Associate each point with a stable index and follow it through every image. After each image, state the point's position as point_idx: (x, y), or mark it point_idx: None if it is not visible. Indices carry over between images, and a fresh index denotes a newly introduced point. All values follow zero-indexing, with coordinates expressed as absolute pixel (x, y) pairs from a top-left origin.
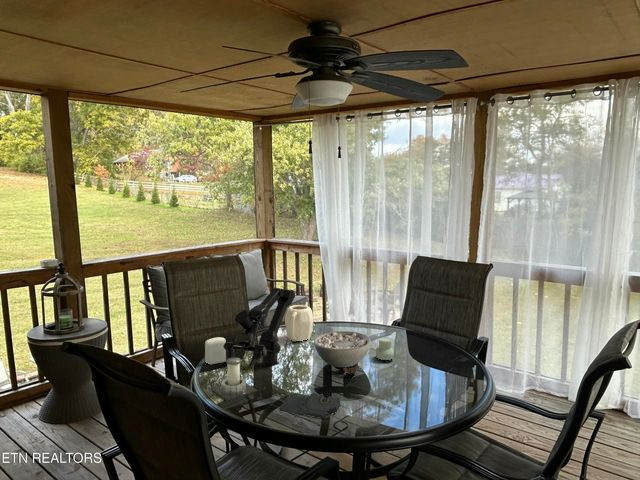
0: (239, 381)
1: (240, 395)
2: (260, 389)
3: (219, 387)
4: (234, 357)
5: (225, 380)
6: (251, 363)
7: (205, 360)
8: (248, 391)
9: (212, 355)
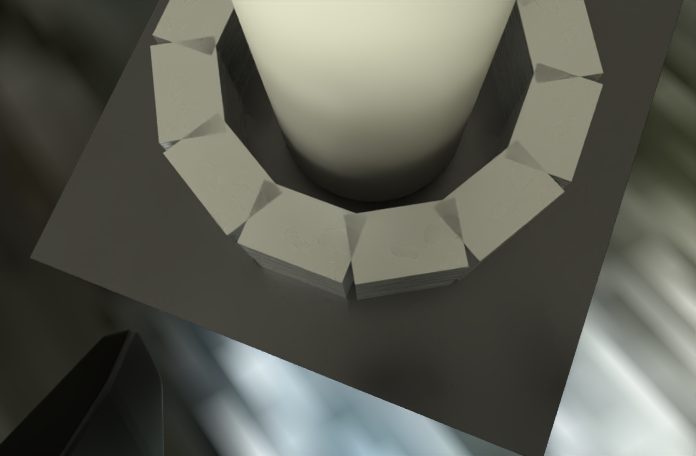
0: (265, 88)
1: (156, 9)
2: (33, 350)
3: (598, 54)
4: None
5: (553, 41)
6: (28, 423)
7: None
8: (123, 154)
9: None
